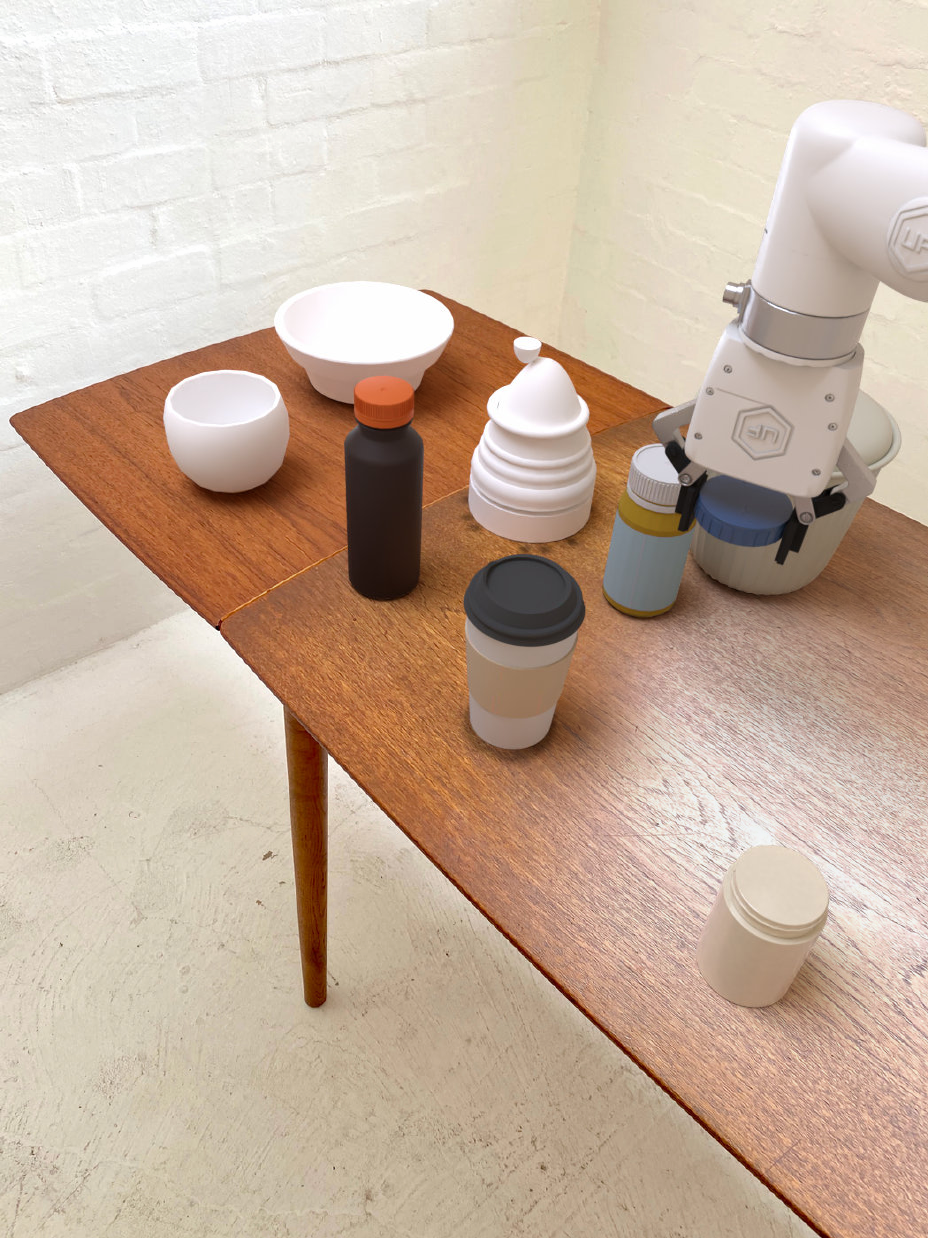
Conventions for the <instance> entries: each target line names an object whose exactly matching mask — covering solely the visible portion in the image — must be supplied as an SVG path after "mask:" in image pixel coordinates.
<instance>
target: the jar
mask: <svg viewBox="0 0 928 1238" xmlns="http://www.w3.org/2000/svg"><path fill="white" fill-rule="evenodd" d="M829 890H830V889H829V887H828V883H827V881H826V879H825V877H824V875H823V874H822V872H821V870H819V868H818V866H817V865H815V864H814V862H812V860H810V859H809V858H808V857H807V856H805V855H804V854H802V853H800V852H798V851H796V850H794V849H792V848H789V847H786V846H782V845H777V844H760V845H757V846H753V847H750V848H748V849H747V850H745V851H743V852H742V853H741V854H740V856H738V857H737V859H736V860H735V861H734V862H733V863H732V864H731V865H730V866H729V867H728V868H727V870H726V872H725V874H724V876H723V879H722V881H721V884H720V885H719V888H718V891H717V893H716V895H715V898H714V900H713V903H712V905H711V908H710V910H709V913H708V915H707V917H706V920H705V922H704V924H703V927H702V930H701V932H700V934H699V936H698V939H697V942H696V947H695V959H696V964H697V967H698V969H699V972H700V973H701V976H702V977H703V979H704V980H705V982H706V983H707V985H708V986H709V987H710V988H711V989H712V990H713V991H714V992H715V993H716V994H718V996H720V997H722V998H723V999H725V1000H727V1001H728V1002H731V1003H733V1004H735V1005H738V1006H742V1007H746V1008H765V1007H768V1006H771V1005H773V1004H776V1003H777V1002H779V1001H780V1000H781V999H782V998H784V997H785V995H786V994H787V993H788V991H789V989H790V988H791V986H792V984H793V982H794V981H795V979H796V977H797V975H798V974H799V972H800V970H801V968H802V966H803V965H804V963H805V961H807V957H808V956H809V954H810V953H811V951H812V949H813V947H814V946H815V944H816V942H817V940H818V939H819V937H820V935H821V934H822V933H823V930H824V929H825V927H826V925H827V921H828V917H829V905H830V892H829Z"/></svg>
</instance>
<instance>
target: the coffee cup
mask: <svg viewBox="0 0 928 1238" xmlns="http://www.w3.org/2000/svg"><path fill="white" fill-rule="evenodd" d="M462 602H463V603H462V604H463V610H464V613H465V614H466V619H465V623H464V636H465V637H464V638H465V639H464V640H465V655H466V656H465V658H466V679H467V687H468V697H469V698H468V700H469V701H468V703H469V705H468V707H469V721H470V725H471V727H472V729H473V731H474V733H476V735H477V736H478V737H479V738H480V739H481V740H483V741H484V742H485V743H487V744H489V745H491V746H494V747H496V748H499V749H503V750H523V749H526V748H530V747H532V746H535V745H536V744H538V743H539V742H540V741H543V739H544V738H546V736H547V734H548V733H549V730H550V728H551V725H552V721H553V718H554V715H555V711H556V707H557V704H558V701H559V700H560V698H561V696H562V692H563V689H564V686H565V683H566V681H567V680H566V679H567V676H568V673H569V671H570V667H571V663H572V659H573V656H574V654H575V650H576V648H577V647H576V646H577V643H578V641H579V640H578V639H579V629H580V628H581V626H582V625H583V623H584V621H585V619H586V611H587V610H586V604H585V603H586V602H585V600H584V597H583V592H582V588H581V586H580V585H579V583H578V582H577V580H576V579H575V578H574V576H573V575H571V573H570V572H568V571H567V570H566V569H564V568H563V566H562V565H560V564H559V563H557V562H556V561H554V560H553V559H550V558H547V557H544V556H542V555H537V554H532V553H516V554H510V555H506V556H502V557H500V558H498V559H495V560H491V561H489V562H487V564H486V565H485V566H482V568H481V569H479V570H478V571H477V572H475V574H474V575H473V577H471V580H470V581H469V584H468V586H467V588H466V590H465V592H464V595H463V601H462Z"/></svg>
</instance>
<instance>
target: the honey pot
mask: <svg viewBox="0 0 928 1238" xmlns="http://www.w3.org/2000/svg"><path fill="white" fill-rule="evenodd" d="M541 349H542V342H541V341H540V340H539V339H538V338H536V337H531V336H520V337H516V338H515V339H514V341H513V350H514V351H513V352H514V354H515V356H516V359H518V361H520V362H521V363H523V364H526V365H525V366H524V367H523V368H522V369H521V370H520V372H519V373H518V374H517V375H516V376H515V377H514V379H513V380H512V381H511V383H510V384H507V385H505V386H502V387H500V388H499V389H496V390H494V392H493V393H492V395H490V397H489V398H488V400H487V403H486V404H487V405H486V410H487V415H488V417H489V420H488V421H487V422H486V424H485V426H484V430H483V433H482V435H481V436H480V439H479V443H478V444H477V445H476V447H475V448H474V450H473V454H472V456H471V461H470V465H471V466H470V471H469V472H470V474H469V485H468V501H467V502H468V508H469V512H470V514H471V516H473V517H472V518H473V519H474V520H475V521H476V522H477V523H478V524H479V525H480V526H482V527H483V528H484V529H485V530H487V531H489V532H490V533H493V534H495V535H496V536H499V537H502V538H505V539H507V540H511V541H514V542H521V543H528V544H534V543H535V544H539V543H540V544H541V543H542V544H543V543H544V544H545V543H551V542H555V541H556V542H557V541H561V540H564V539H566V538H570V537H572V536H573V535H575V534H577V533H578V532H579V531H580V530H582V529H583V528H584V527H585V526H586V524H587V522H588V520H589V519H590V515H591V509H592V503H593V498H594V490H595V485H596V481H597V480H596V479H597V469H598V468H597V464H596V460H595V457H594V449H593V447H592V437H591V434H590V431H589V429H588V428H587V424H588V422H589V419H590V410H589V409H590V408H589V406H588V403H587V402H586V401H585V400H584V398H582V396H580V395H579V394H578V393H577V391H576V388H575V386H574V384H573V383H574V382H573V381H572V379H571V378H570V375H569V374H568V372H567V371H566V370H565V368H564V367H563V366H562V365H561V364H560V363H559V362H557V361H556V360H554V359H552V358H551V357H544V356H539V355H540V352H541Z"/></svg>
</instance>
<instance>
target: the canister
mask: <svg viewBox="0 0 928 1238" xmlns="http://www.w3.org/2000/svg"><path fill="white" fill-rule="evenodd" d="M701 387H702V385H701V386H700V387H699V388H698V390H697V392H696V393H695V395H694V398H693V399H695V398H698V396H699V393H700V390H701ZM699 437H700V436H699ZM846 437H847V438H848V440H849V441H850V442H851V444H852V445H853V447H854V448H855V449H856V451H857V452H858V454H859V455H860V456H861V458H862V459H863V461H864V462H865V463H866V465H867V466H868V468H869V469H870V471H871V472H872V473H873V475H874V476H875V478H876V479H877V478H878V476H879V474H880V473H881V470H882V469H884V467H886V466H887V465H889V464H890V463H891V462H893V460H894V459H895V458H896V457H897V455H898V454H899V453H900V450H901V447H902V441H903V439H902V433H901V430H900V427H899V425H898V423H897V421H896V420H895V418H894V417H893V416H892V414H891V413H890V412H889V411H888V410H887V409H886V408H885V407H884V406H882V405H881V404H880V403H879V402H878V401H876V400H875V398H873V397H872V396H870V395H869V394H868V393H866V392H865V391H864V390H862V389H860V388H859V392H858V396H857V400H856V404H855V408H854V412H853V415H852V419H851V422H850V426H849V429H848V432H847V435H846ZM706 474H708V478H707V480H709V479H711V478H713V477H716V476H720V475H723V474H720V473H717V472H714V471H711V470H708V469H707V472H706ZM846 481H847V480H846V478H845V477H844V475H843V474H842V473H841V471H840V470H839V468H838V467H837V466H835V469H834V471H833V473H832V476H831V478H830V480H829V482H828V484H827V485H826V487H825V489H827V488H830V487H832V486H835V485H838V484H843V483H844V482H846ZM825 489H824V490H825ZM786 495H787V496H788V497H789V499H790V500H791V503H792V506H793V509H794V507H795V503H794V499H793V496H792V495H788V494H786ZM866 498H867V497H864V498H862V499H860V500H858V501H856V502H853V503H849V504H847V505H845V506H844V507H843V508H842V509H841V510H838V511H836V512H833V513H830V514H828V515H825V516H822V517H820V518H817V519H815V521H814V522H813V523H812V524H810V525H809V527H808V530H807V532H806V535H805V538H804V540H803V543H802V546H801V548H800V550H799V553H796V552H793V551H790V550H789V553H788V555H787V557H786V560H785V562H784V564H783V565H780V564H777V563H776V562H777V561H774V560H775V557H776V554H777V551H778V548H779V546H780V543H781V540H782V538H781V539H780V540H779V541H777V542H776V543H773V544H771V545H767V546H761V547H744V546H738V545H734V544H730V543H727V542H724V541H722V540H719V539H717V538H716V537H714V536H712V535H711V534H709V533H708V532H707V531H705V530H704V529H703V528H702V527H701V526H700V524H699V523H698V521H697V522H696V526H695V530H694V534H693V537H692V541H691V545H690V549H689V552H690V553H691V555H692V558H693V560H694V561H695V562H696V563H697V565H698V566H699V568H701V569H702V570H703V572H704V573H705V574H707V575H709V576H710V577H711V578H712V579H713V580H716V581H718V582H719V584H722V585H726V586H727V587H728V588H733V589H735V590H737V591H739V592H740V591H741V592H745V593H746V594H755V595H757V596H759V595H765V596H770V595H774V596H779V595H781V594H789V593H791V592H797V591H798V590H800V589H803V588H805V587H807V586H808V585H809V584H810V583H811V582H813V581H814V580H816V579H817V578H818V576H820V574H821V573H822V572H823V571H824V569H825V568H826V567H827V565H828V564H829V563H830V561H831V559H832V557H833V556H834V554H835V552H836V551H837V549H838V547H839V546H840V545H841V542H842V540H843V539H844V537H845V535H846V534H847V532H848V530H849V529H850V527H851V525H852V523H853V522H854V520H855V518H856V516H857V515H858V512H859V510H860V509H861V507H862V505H863V503H864V502H865V500H866Z"/></svg>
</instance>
